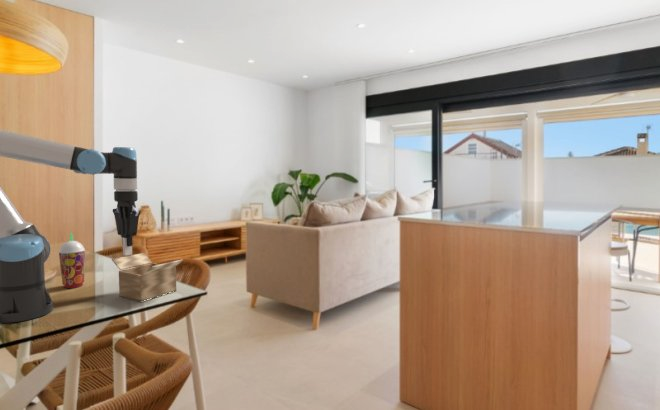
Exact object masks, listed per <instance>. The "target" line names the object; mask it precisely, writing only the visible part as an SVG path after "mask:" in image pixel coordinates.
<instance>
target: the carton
mask: <svg viewBox="0 0 660 410" xmlns="http://www.w3.org/2000/svg"><path fill="white" fill-rule="evenodd" d="M155 265H160V263H154V262H152V263H150V264H146V265H141V266H137V267H132V268H128V269H123V270H118V292H119V295H118V296H119V297H120V298H124V299H128V300H131V301H135V300H136V301H135V302H139V301H144V300H147V299H150V298H154V297H157V296H160V297H162V296H161V295H163V294H166V293H169V292H173V291H176V292H177V266H176V267H174V268H170V269H166V270H162V271H158V272H154V273H150V274H146V275H143V274H144V273H145V272H146V271H147V270H148V269H149V268H151V267H152V266H155ZM173 293H174V292H173ZM157 298H158V297H157ZM154 299H155V298H154ZM144 302H145V301H144Z"/></svg>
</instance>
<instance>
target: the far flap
mask: <svg viewBox="0 0 660 410" xmlns="http://www.w3.org/2000/svg"><path fill="white" fill-rule="evenodd" d="M111 261H112V262H113V263H114V265H115V266H116V267H117V268H118V269H119V271H121V270H126V269H130V268H134V267H139V266H143V265H148V264H152V263H153V262H152V261H151V259H150V258H149V257H148V256H147V254H145V252H141V253H137V254H132V255H126V256H121V257H115V258H111Z"/></svg>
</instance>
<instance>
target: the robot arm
mask: <svg viewBox="0 0 660 410" xmlns="http://www.w3.org/2000/svg"><path fill="white" fill-rule="evenodd" d="M0 157H3V158H6V159H12V160H17V161H23V162H29V163H32V164H33V163H34V164H37V165H39V164H40V165H44V166H49V167H53V168H59V169H65V170H71V171H73V172H74V173H75V174H82V175H87V174H88V175H99V174H103V175H106V174H111V175H113V189H114V190H115V191H114V192H113V200H114V202H116V203H117V204H116V208H113V209H112V213H113V216H114V220H115V226H116V232H117V235H118V236H120V237H121V245H122V256H123V257H125V256H130V255H133V237H135V236H137V234H138V228H139V227H138V226H139V221H140V220H139V219H140V215H141V213H142V212H141V210H140V209H137V206H136V202H137V201H138V198H139V197H138V191H137V190H138V177H137V176H138V171H137V170H138V160H137V150H136V149H135V148H134V147H125V146H121V147H120V146H114V147H113V148H112V152H111V151H110V152H100V151H99V150H97V149H92V148H91V149H88V148H85V147H79V146H75V145H70V144H66V143H63V142H62V143H61V142H57V141H52V140H49V139H43V138H39V137H35V136H30V135H27V134H26V135H25V134H20V133H17V132H12V131H8V130H4V129H0ZM50 254H51V244H50V243H49V240H48V239H47V237H45V235H43V234H41V233H40V232H39V230H38V229H37V226H35V225H34V223H33V222H29V221H25V220H24V218H23V216H22V215H21V214H20V213H19V211H18V210H17V208H16V207H15V205H14V204H13V203H12V201H11V199H10V198H9V197H8V195H7V194H6V192H5V191H4V190H3V188H2V187H1V186H0V324H8V323H19V322H24V321H29V320H34V319H37V318H40V317H43V316H45V315H48V314H50V313H51V312H52V311H53V309H54V302H53V300H52V299H53V298H52V297H51V296H50V294H49V291H48V289H47V286H46V281H45V278H46V277H45V274H46V273H45V262H46V261H47V260H49V257H50Z"/></svg>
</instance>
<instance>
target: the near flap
mask: <svg viewBox="0 0 660 410" xmlns="http://www.w3.org/2000/svg"><path fill="white" fill-rule="evenodd" d="M183 261H184V259H183V258H181V259H178V260H173V261H169V262H165V263H161V264H160V263H159V264H160V265H155V266H152V267H151V268H149V269H148V270H147V271H146V272H145V273H144V274H143V275H146V274H150V273H154V272H158V271H162V270H166V269H170V268H174V267H176V268H177V266H178V265H180V264H181V263H182V262H183Z"/></svg>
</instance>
